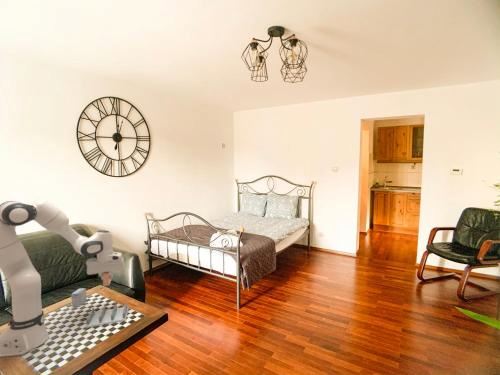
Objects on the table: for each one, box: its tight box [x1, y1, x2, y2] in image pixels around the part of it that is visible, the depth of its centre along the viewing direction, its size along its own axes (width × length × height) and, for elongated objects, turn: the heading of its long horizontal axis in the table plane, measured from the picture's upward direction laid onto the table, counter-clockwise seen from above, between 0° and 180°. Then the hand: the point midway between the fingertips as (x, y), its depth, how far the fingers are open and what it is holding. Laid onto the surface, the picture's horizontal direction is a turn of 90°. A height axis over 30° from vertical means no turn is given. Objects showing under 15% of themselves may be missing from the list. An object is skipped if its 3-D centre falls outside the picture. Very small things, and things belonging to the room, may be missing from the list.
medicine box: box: [70, 287, 88, 308], centre depth 170 cm, size 8×4×9 cm, turn 178°
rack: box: [85, 302, 130, 329], centre depth 154 cm, size 20×14×4 cm
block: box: [102, 272, 112, 287], centre depth 162 cm, size 3×8×7 cm, turn 18°
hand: (107, 278), depth 162 cm, fingers closed on block, 3 cm apart
